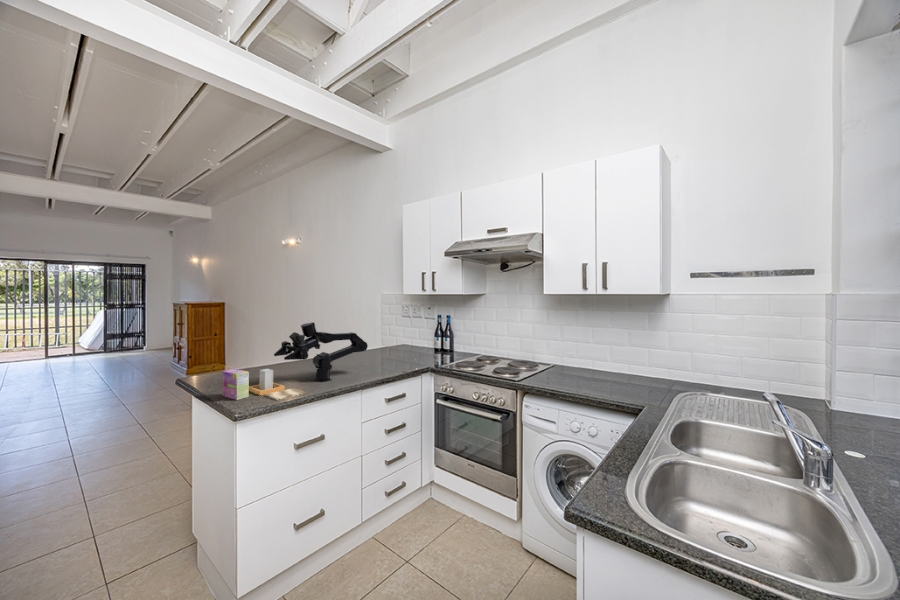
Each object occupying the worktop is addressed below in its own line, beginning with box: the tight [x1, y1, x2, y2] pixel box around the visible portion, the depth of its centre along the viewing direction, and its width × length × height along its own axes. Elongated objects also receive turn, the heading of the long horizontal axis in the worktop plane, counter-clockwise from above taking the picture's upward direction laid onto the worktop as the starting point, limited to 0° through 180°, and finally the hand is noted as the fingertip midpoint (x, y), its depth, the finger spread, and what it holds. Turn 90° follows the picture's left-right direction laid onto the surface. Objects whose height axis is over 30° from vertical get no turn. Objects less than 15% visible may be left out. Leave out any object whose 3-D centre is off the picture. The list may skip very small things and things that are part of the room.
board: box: [264, 387, 306, 401], centre depth 171 cm, size 14×10×1 cm
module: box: [258, 368, 274, 390], centre depth 176 cm, size 4×5×10 cm
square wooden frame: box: [249, 382, 286, 396], centre depth 176 cm, size 12×12×2 cm
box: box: [222, 368, 250, 401], centre depth 165 cm, size 10×6×12 cm, turn 62°
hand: (279, 356), depth 179 cm, fingers open, 9 cm apart
